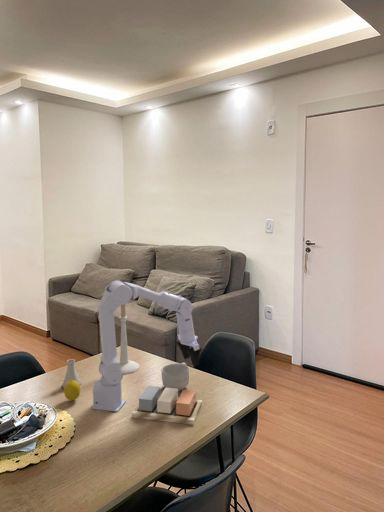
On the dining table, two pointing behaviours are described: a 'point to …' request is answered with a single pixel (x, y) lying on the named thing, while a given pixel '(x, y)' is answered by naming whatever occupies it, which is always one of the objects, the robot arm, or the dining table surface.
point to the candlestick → (125, 347)
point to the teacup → (175, 376)
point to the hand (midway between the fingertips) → (191, 361)
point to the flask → (71, 373)
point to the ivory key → (167, 400)
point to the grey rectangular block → (149, 398)
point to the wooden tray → (168, 417)
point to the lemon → (72, 390)
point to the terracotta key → (186, 402)
